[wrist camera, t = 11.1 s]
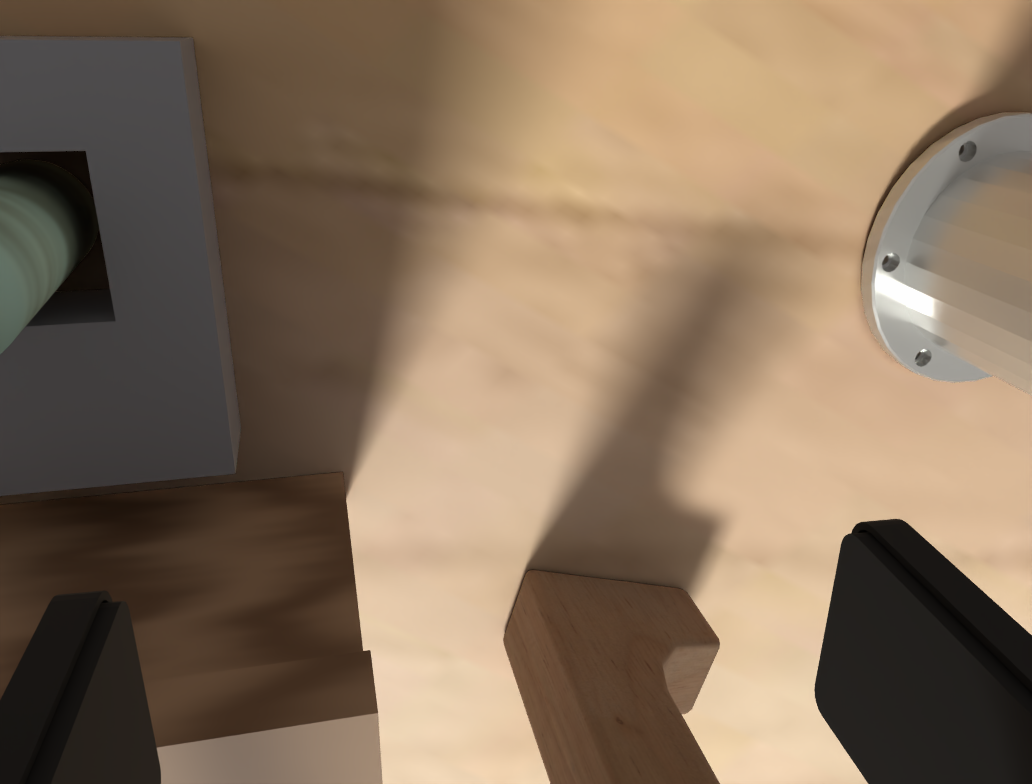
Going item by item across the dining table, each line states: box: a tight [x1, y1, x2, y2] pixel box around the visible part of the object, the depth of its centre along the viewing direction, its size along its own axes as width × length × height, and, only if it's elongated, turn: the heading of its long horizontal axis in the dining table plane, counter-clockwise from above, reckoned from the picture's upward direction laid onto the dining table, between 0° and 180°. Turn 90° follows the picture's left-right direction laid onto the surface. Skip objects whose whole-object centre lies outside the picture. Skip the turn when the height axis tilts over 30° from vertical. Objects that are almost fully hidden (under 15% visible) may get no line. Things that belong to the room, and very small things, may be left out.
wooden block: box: [503, 570, 720, 784], centre depth 36 cm, size 9×4×18 cm, turn 73°
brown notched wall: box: [0, 472, 382, 784], centre depth 26 cm, size 18×6×20 cm, turn 89°
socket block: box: [0, 36, 241, 496], centre depth 30 cm, size 12×15×4 cm
